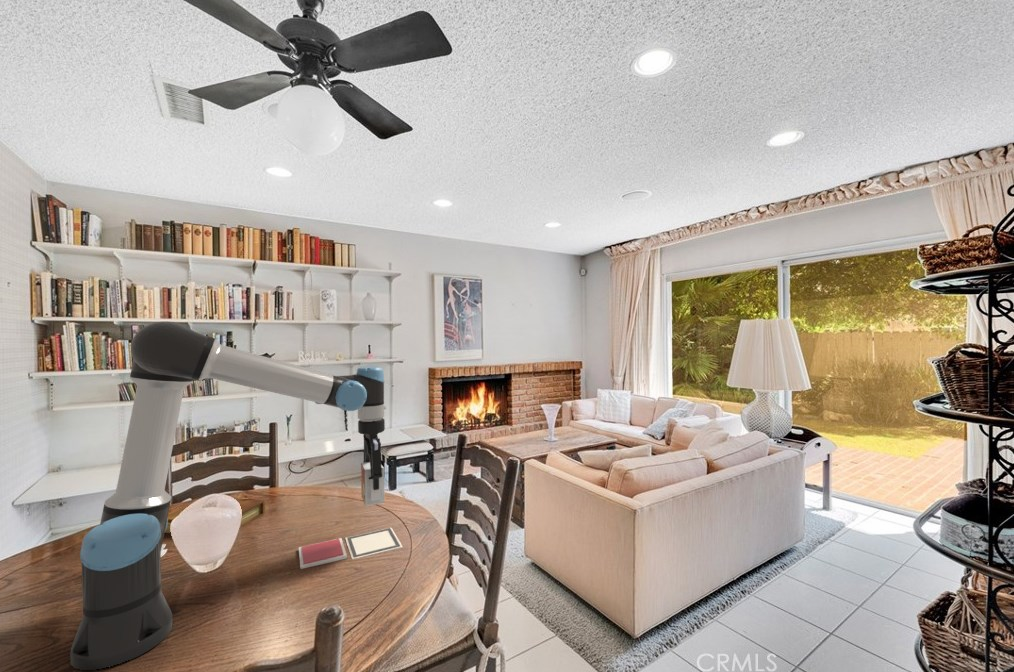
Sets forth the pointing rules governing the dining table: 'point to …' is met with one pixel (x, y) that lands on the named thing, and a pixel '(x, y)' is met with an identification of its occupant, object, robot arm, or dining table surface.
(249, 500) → the diary
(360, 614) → the dining table surface
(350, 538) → the card
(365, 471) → the small box
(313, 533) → the dining table surface
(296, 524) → the dining table surface
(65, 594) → the dining table surface
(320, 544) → the ink pad
